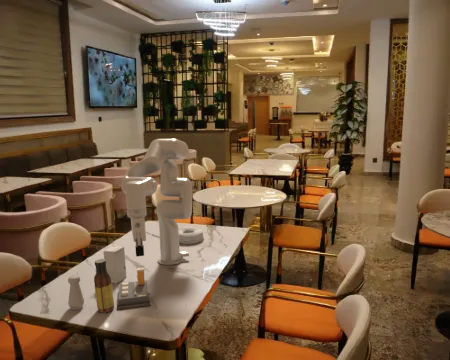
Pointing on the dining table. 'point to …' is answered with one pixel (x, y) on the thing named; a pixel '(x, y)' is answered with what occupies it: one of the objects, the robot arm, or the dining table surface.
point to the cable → (190, 235)
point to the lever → (140, 276)
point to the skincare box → (115, 263)
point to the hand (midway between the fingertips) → (140, 255)
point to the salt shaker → (75, 293)
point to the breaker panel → (133, 293)
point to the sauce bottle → (103, 287)
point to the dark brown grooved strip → (133, 305)
